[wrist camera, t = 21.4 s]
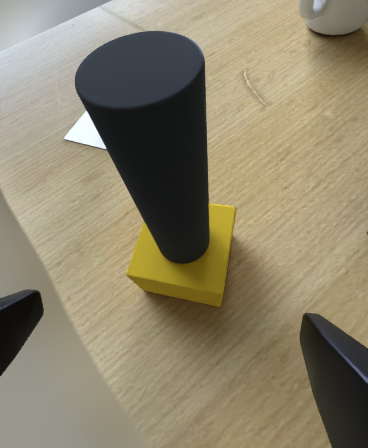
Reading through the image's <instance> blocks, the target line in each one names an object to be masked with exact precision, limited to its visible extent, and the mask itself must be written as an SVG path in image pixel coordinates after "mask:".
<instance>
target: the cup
mask: <svg viewBox="0 0 368 448" xmlns="http://www.w3.org/2000/svg"><path fill="white" fill-rule="evenodd" d="M299 13H300V15H301V17H302V18H304V19H305V22H306V24H307V26H308V27H309V28H310V29H312V30H313V31H316V32H318V33H321V34H326V35H342V34H347V33H350V32H353V31H355V30H357V29H358V28H360V27H361V26H362V25H363V24H364V23H365V22H366V21H367V20H368V0H300V2H299Z"/></svg>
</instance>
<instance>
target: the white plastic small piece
mask: <svg viewBox="0 0 368 448" xmlns="http://www.w3.org/2000/svg"><path fill="white" fill-rule="evenodd" d="M64 139H67V140H71V141H75V142H79V143H83V144H87V145H91V146H95V147H99V148H103V149H106V147H105V145H104V143H103V141H102V139H101V137H100V135H99V133H98V131H97V130H96V128H95V126H94V124H93V122H92V120H91V118H90V116H89V114H88V112H87V111H86V112H85V113H84V114H83V115H82V117H81V118H80V119H79V120H78V122H77V123H76V124H75V125H74V126H73V128H72V129H71V130H70V131H69V132H68V134H67V135H66V136H65V137H64Z"/></svg>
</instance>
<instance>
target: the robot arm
mask: <svg viewBox="0 0 368 448" xmlns="http://www.w3.org/2000/svg"><path fill="white" fill-rule="evenodd" d="M43 312H44V309H43V303H42V298H41V294H40V292H39V291H38V290H30V289H27V290H23V291H20V292H17V293H14V294H12V295H9V296H6V297H3V298H0V376H1V375H2V374H3V372H4V371H5V370H6V368H7V367H8V366H9V365H10V363H11V362H12V361H13V359H14V358H15V357H16V355H17V354H18V352H19V351H20V350H21V348H22V346H23V345H24V343H25V342H26V340H27V339H28V337H29V336H30V334H31V333H32V331H33V330H34V328H35V327H36V325H37V324H38V322H39V321H40V319H41V317H42V316H43ZM300 344H301V348H302V352H303V356H304V360H305V364H306V368H307V372H308V376H309V380H310V384H311V388H312V392H313V395H314V398H315V401H316V404H317V407H318V410H319V413H320V415H321V418H322V421H323V424H324V426H325V429H326V432H327V435H328V438H329V440H330V443H331V446H332V448H368V348H366V347H365V346H364V345H362V344H361V343H359V342H358V341H356V340H355V339H354V338H352V337H351V336H349V335H348V334H346V333H345V332H344V331H342V330H341V329H339V328H338V327H337V326H335V325H334V324H332V323H331V322H329V321H328V320H327V319H325V318H324V317H322V316H321V315H319V314H313V313H305V314H304V315H303V318H302V324H301V330H300Z"/></svg>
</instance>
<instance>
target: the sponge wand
mask: <svg viewBox="0 0 368 448" xmlns="http://www.w3.org/2000/svg"><path fill="white" fill-rule="evenodd" d="M75 87H76V91H77V93H78V95H79V97H80V99H81V101H82V103H83V105H84V107H85V109H86V110H87V112H88V114H89V116H90V118H91V120H92V122H93V124H94V126H95V128H96V130H97V131H98V133H99V135H100V137H101V139H102V141H103V143H104V145H105V147H106V149H107V151H108V153H109V154H110V156H111V158H112V160H113V162H114V164H115V166H116V168H117V170H118V172H119V174H120V175H121V177H122V179H123V181H124V183H125V185H126V187H127V189H128V191H129V193H130V195H131V197H132V198H133V200H134V202H135V204H136V206H137V208H138V210H139V212H140V214H141V216H142V218H143V220H144V223H143V226H142V229H141V232H140V235H139V238H138V241H137V244H136V247H135V250H134V253H133V256H132V259H131V262H130V265H129V268H128V270H127V273H126V275H127V276H128V277H129V278H130V279H131V280H132V281H133V282H134V283H136V284H137V285H138V286H139V287H140V288H141V289H142V290H144V291H148V292H153V293H157V294H162V295H166V296H171V297H176V298H180V299H185V300H189V301H194V302H198V303H203V304H208V305H212V306H217V307H221V304H222V298H223V292H224V286H225V280H226V273H227V267H228V260H229V254H230V247H231V241H232V234H233V228H234V221H235V215H236V207H233V206H226V205H218V204H211V203H209V194H208V158H207V122H206V87H205V59H204V55H203V53H202V51H201V49H200V47H199V46H198V45H197V44H196V43H195V42H194V41H193V40H191V39H189V38H188V37H185V36H183V35H180V34H177V33H172V32H165V31H147V32H139V33H134V34H130V35H126V36H123V37H119V38H117V39H114V40H112V41H110V42H108V43H106V44H104V45H102V46H100V47H99V48H97V49H96V50H94V51H93V52H92V53H91V54H89V55H88V56H87V57H86V58H85V59H84V60H83V62H82V63H81V64H80V66H79V68H78V70H77V72H76V76H75Z"/></svg>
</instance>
